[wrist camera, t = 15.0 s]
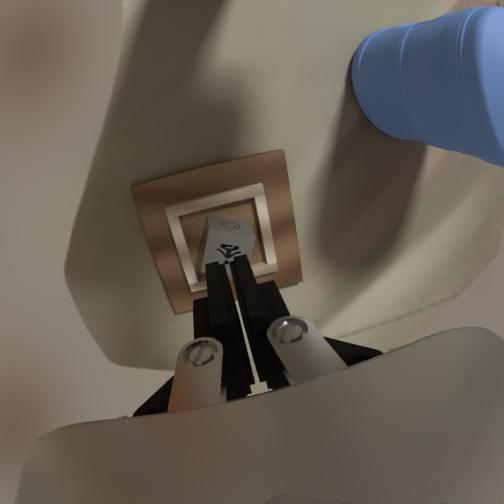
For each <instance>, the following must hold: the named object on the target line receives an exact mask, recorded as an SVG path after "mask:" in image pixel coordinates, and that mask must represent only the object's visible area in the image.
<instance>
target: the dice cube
mask: <svg viewBox="0 0 504 504" xmlns="http://www.w3.org/2000/svg"><path fill="white" fill-rule="evenodd" d="M255 239H256V236H255V234H254V232H253V230H252V228H251V226H250V223H249V221H245V220H239V219H232V218H226V217H220V216H214V215H208V214H207V218H206V223H205V229H204V234H203V239H202V245H201V250H200V262H201V272H202V273H206V271H205V264H208V263H212V262H216V261H219V264H223V263H225V267H226V271H227V274H228V276H232V274H231V270H230V266H229V262H231V261H234V259H233V257H236V256H240V255H244V254H247V257H248V260H249V263H250V259H251V255H252V251H253V247H254V243H255Z"/></svg>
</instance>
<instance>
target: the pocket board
mask: <svg viewBox="0 0 504 504" xmlns="http://www.w3.org/2000/svg"><path fill="white" fill-rule="evenodd" d="M131 189H132V192H133V196H134V199H135V202H136V205H137V208H138V212H139V215H140V218H141V221H142V224H143V227H144V230H145V233H146V236H147V239H148V241H149V244H150V247H151V250H152V253H153V256H154V258H155V261H156V264H157V267H158V269H159V272H160V275H161V277H162V280H163V283H164V285H165V288H166V290H167V293H168V295H169V298H170V300H171V303H172V305H173V308H174V310H175V313H180V312H184V311H188V310H193V300H195V299H199V298H203V297H207V296H208V293H207V282H206V273H202V272H201V262H200V250H201V245H202V239H203V234H204V229H205V223H206V218H207V214H208V215H214V216H220V217H226V218H232V219H239V220H245V221H249V223H250V226H251V228H252V230H253V232H254V234H255V236H256V239H255V243H254V247H253V251H252V255H251V259H250V265H251V268H252V271H253V273H254V276H255V279H256V282H257V284H259V283H263V282H267V281H271V280H274V281H275V283H276V285H277V287H278V288H280V287H284V286H287V285H291V284H295V283H298V282H302V281H303V279H302V271H301V263H300V255H299V247H298V240H297V233H296V225H295V218H294V211H293V205H292V198H291V191H290V185H289V179H288V172H287V166H286V160H285V154H284V150H282V149H280V150H274V151H269V152H264V153H259V154H254V155H250V156H245V157H240V158H236V159H231V160H227V161H223V162H218V163H214V164H210V165H206V166H202V167H198V168H194V169H190V170H186V171H183V172H179V173H175V174H171V175H168V176H164V177H161V178H157V179H154V180H150V181H147V182H144V183H140V184H137V185H134V186H132V187H131ZM228 278H229V282H230V286H231V289H232V293H233V297H234V299H237V295H236V291H235V287H234V282H233V278H232V276H228Z"/></svg>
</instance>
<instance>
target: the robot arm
mask: <svg viewBox="0 0 504 504" xmlns="http://www.w3.org/2000/svg"><path fill="white" fill-rule="evenodd" d="M233 259H234V261H231V262H229V266H230V270H231V274H232V278H233V282H234V287H235V291H236V295H237V299H238V303H239V307H240V311H241V315H242V319H243V323H244V327H245V331H246V334H247V338H248V341H249V345H250V349H251V352H252V356H253V359H254V363H255V366H256V370H257V373H258V377H259V380H260V382H264V381H266V383H267V387H268V389H270V388H271V389H273V390H271V391H268V392H264V393H260V394H256V395H252V396H248V397H246V396H247V395H248V394H251V393H252V392H251V388H250V385H252V384H255V381H254V376H253V372H252V368H251V364H250V360H249V356H248V352H247V347H246V343H245V339H244V335H243V331H242V326H241V322H240V318H239V315H238V311H237V308H236V304H235V300H234V297H233V293H232V289H231V286H230V282H229V278H228V274H227V271H226V267H225V263H223V264H219V261H216V262H212V263H208V264H205V271H206V282H207V293H208V296H207V297H203V298H199V299H195V300H193V321H194V340H192V341H190V342H188V343H187V344H186V345H184V347H183V348H182V349H181V350H180V353H179V355H178V359H177V364H176V369H175V374H174V376H172V378H170V379H169V380H168V381H167V382H166V383H165V384H164V385H163V386H162V387H161V388H160V389H159V390H158V391H157V392H155V393H154V395H152V396H151V397H150V398H149V399H148V400H147V401H146V402H145V403H144V404H143V405H141V406H140V407H139V408H138V409H137V410H136V412H135V413H134V414H133V416H132V417H127V416H123V417H120V418H117V419H109V420H100V421H90V422H83V423H76V424H70V425H67V426H63V427H59V428H57V429H54V430H52V431H49V432H47V433H45V434H44V435H42V436H41V437H39V438H38V439H36V440H35V441H34V442H33V444H32V446H31V447H30V448H29V450H28V453H27V455H26V457H25V460H24V463H23V466H22V469H21V473H20V477H19V481H18V486H17V490H16V496H15V501H14V504H504V339H503V338H502V337H501V336H499V335H498V334H496V333H495V332H493V331H491V330H489V329H486V328H481V327H463V328H455V329H450V330H446V331H442V332H439V333H436V334H433V335H430V336H427V337H424V338H422V339H419V340H417V341H414V342H412V343H409V344H407V345H404V346H401V347H397V348H392V349H389V352H387V353H383V352H381V351H379V350H376V349H372V348H368V347H364V346H359V345H355V344H351V343H347V342H343V341H339V340H335V339H331V338H327V337H323V336H322V335H321V334H320V333H319V331H318V330H317V329H316V328H315V327H314V325H313V324H312V323H311V322H310V321H309V320H308V319H307V318H304V317H302V316H296V315H292V316H291V315H290V313H289V311H288V309H287V307H286V305H285V303H284V300H283V298H282V296H281V294H280V292H279V290H278V287H277V285H276V283H275V281H274V280H271V281H267V282H263V283H259V284H257V282H256V279H255V276H254V273H253V271H252V268H251V265H250V263H249V260H248V257H247V254H244V255H240V256H236V257H233Z"/></svg>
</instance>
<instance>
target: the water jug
mask: <svg viewBox="0 0 504 504" xmlns="http://www.w3.org/2000/svg"><path fill="white" fill-rule="evenodd" d="M352 84H353V89H354V93H355V96H356V99H357V101H358V103H359V105H360V107H361V109H362V111H363V112H364V114H365V115H366V117H367V118H368V119H369V120H370V121H371V122H372V123H373V124H374V125H375V126H376V127H377V128H378V129H379V130H381V131H382V132H384V133H386V134H388V135H390V136H392V137H395V138H400V139H404V140H414V141H418V142H423V143H427V144H429V145H432V146H434V147H438V148H442V149H445V150H451V151H458V152H461V153H465V154H468V155H471V156H475V157H478V158H481V159H482V160H484V161H487V162H489V163H492V164H495V165H497V166H500V167H504V8H502V7H497V6H492V7H473V8H467V9H464V10H460V11H458V12H454V13H448V14H445V15H442V16H440V17H438V18H435V19H433V20H430V21H426V22H421V23H408V24H403V25H400V26H397V27H393V28H387V29H383V30H380V31H377V32H374V33H372V34H371V35H369V36H368V37H366V38H365V39H364V40H363V41H362V42H361V44H360V45H359V47H358V48H357V50H356V53H355V55H354V58H353V63H352Z"/></svg>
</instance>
